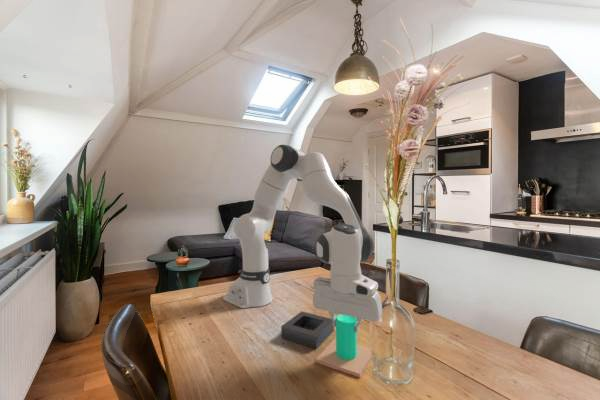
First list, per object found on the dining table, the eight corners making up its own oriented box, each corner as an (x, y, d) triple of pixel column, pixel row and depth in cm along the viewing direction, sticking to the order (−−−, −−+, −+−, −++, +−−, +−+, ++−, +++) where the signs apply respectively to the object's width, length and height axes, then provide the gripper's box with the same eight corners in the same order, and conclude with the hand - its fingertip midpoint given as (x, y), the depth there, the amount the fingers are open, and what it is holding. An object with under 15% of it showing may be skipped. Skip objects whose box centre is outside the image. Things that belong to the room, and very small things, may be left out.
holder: (281, 338, 96) (281, 326, 95) (301, 322, 107) (301, 311, 106) (316, 349, 89) (316, 336, 89) (334, 330, 100) (333, 319, 100)
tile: (316, 362, 82) (315, 359, 82) (334, 341, 93) (334, 338, 93) (360, 377, 75) (360, 373, 75) (374, 352, 87) (374, 349, 87)
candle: (331, 353, 85) (331, 313, 84) (344, 345, 89) (344, 307, 88) (348, 362, 80) (348, 320, 80) (360, 353, 84) (360, 313, 84)
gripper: (308, 279, 86) (309, 324, 87) (377, 291, 75) (377, 343, 76) (318, 273, 91) (319, 316, 92) (383, 284, 81) (383, 332, 81)
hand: (346, 328), depth 84 cm, fingers closed on candle, 5 cm apart
